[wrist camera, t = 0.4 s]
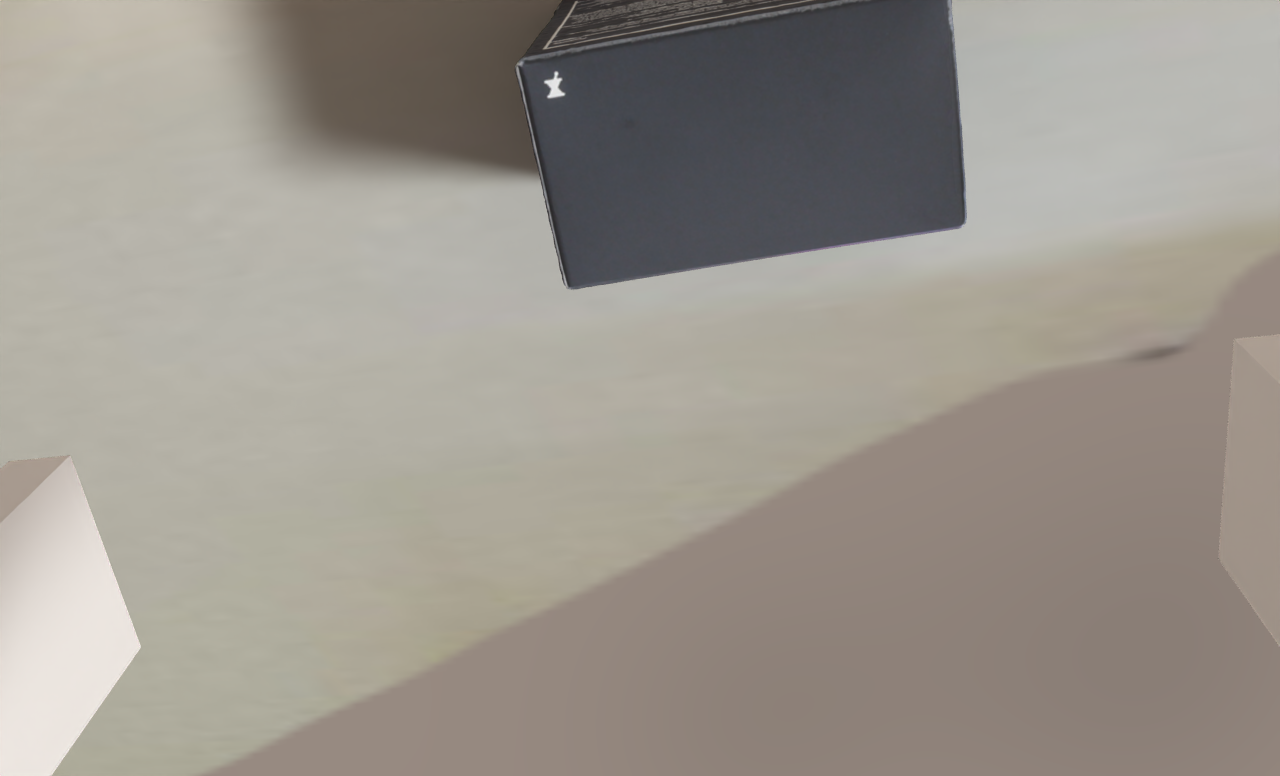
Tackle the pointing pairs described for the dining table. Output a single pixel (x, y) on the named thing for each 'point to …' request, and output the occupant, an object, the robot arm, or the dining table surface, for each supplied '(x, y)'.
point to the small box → (740, 130)
